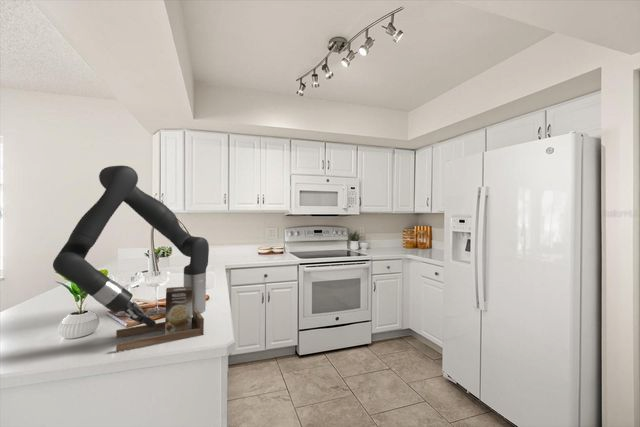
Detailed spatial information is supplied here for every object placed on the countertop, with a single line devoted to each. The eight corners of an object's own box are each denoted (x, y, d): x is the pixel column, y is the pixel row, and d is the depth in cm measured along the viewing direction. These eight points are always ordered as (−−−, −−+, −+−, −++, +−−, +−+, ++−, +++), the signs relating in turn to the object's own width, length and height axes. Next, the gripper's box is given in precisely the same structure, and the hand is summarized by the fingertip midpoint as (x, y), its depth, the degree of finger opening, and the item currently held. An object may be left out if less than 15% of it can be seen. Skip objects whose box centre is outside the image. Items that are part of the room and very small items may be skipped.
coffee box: (164, 336, 110) (164, 292, 110) (165, 329, 116) (165, 287, 116) (191, 332, 114) (192, 289, 113) (191, 326, 120) (192, 285, 119)
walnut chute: (116, 336, 109) (116, 320, 108) (195, 322, 123) (195, 307, 123) (116, 352, 97) (116, 334, 97) (203, 334, 112) (203, 318, 112)
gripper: (122, 291, 98) (164, 322, 105) (121, 282, 109) (159, 310, 116) (101, 310, 95) (146, 341, 102) (103, 299, 106) (143, 327, 113)
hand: (153, 325), depth 109 cm, fingers closed
